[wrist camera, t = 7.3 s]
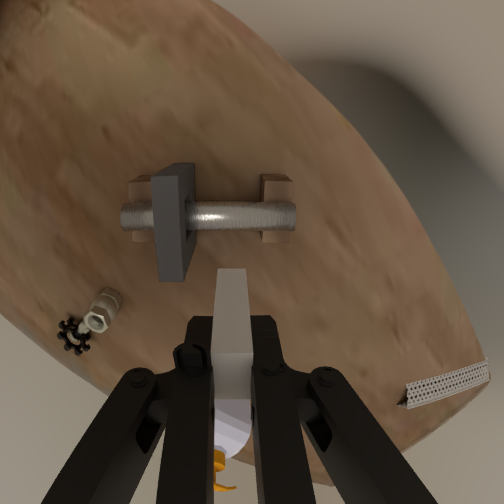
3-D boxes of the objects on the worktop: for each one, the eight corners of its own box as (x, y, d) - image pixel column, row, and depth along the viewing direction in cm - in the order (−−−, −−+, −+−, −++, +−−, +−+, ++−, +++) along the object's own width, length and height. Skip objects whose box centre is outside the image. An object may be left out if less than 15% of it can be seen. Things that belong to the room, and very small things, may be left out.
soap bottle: (216, 384, 49) (211, 499, 28) (184, 365, 47) (167, 485, 26) (251, 359, 47) (260, 484, 26) (219, 337, 45) (213, 471, 24)
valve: (103, 275, 40) (66, 312, 42) (85, 298, 34) (50, 335, 36) (134, 306, 42) (94, 338, 44) (121, 332, 36) (80, 363, 38)
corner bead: (487, 356, 55) (496, 367, 51) (474, 380, 59) (482, 391, 54) (405, 380, 54) (414, 396, 49) (393, 405, 58) (400, 420, 53)
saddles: (144, 228, 37) (132, 242, 33) (141, 175, 34) (127, 182, 30) (282, 228, 38) (288, 242, 34) (285, 174, 35) (292, 181, 31)
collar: (177, 243, 37) (159, 281, 27) (174, 163, 33) (150, 176, 23) (196, 243, 37) (183, 281, 28) (194, 162, 33) (177, 175, 24)
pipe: (131, 226, 32) (122, 235, 29) (129, 199, 31) (118, 206, 28) (289, 226, 33) (294, 236, 30) (291, 198, 32) (297, 206, 29)
